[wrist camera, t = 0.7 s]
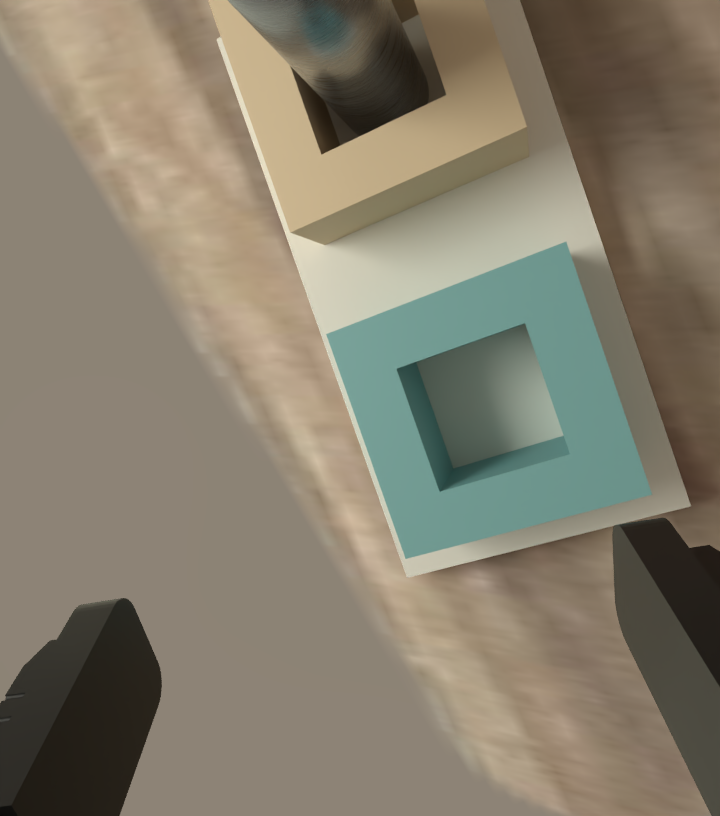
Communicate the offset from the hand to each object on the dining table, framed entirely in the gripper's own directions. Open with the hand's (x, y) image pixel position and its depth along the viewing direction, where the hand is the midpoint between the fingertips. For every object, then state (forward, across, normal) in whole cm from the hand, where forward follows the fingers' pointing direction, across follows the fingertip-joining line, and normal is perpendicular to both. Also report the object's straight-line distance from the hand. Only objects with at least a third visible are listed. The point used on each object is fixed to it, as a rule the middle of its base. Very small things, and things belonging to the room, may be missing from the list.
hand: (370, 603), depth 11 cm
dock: (+20, -4, -1) cm, 20 cm away
